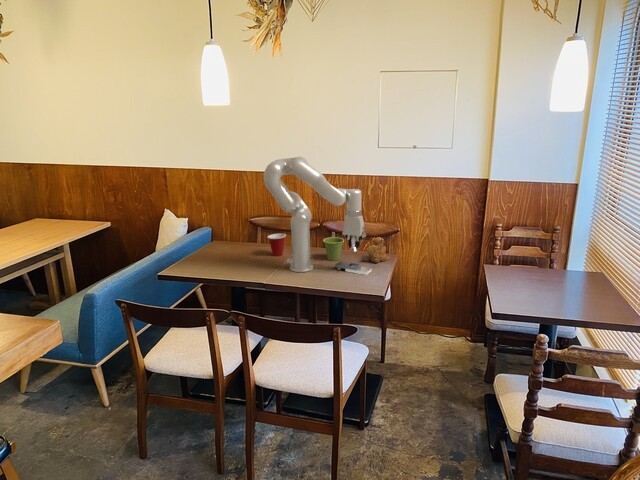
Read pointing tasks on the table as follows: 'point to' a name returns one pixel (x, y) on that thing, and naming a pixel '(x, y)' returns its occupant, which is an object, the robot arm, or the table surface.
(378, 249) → the teddy bear
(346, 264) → the gray white flat block
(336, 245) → the plant pot
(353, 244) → the steel pin
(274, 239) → the plastic cup
